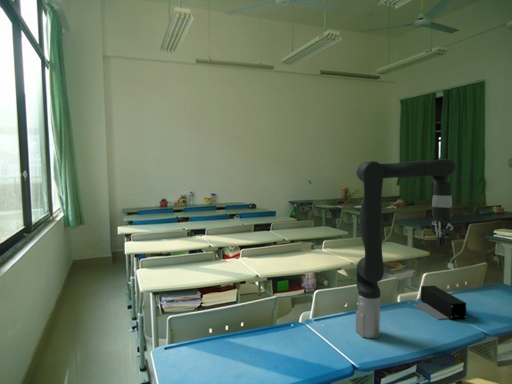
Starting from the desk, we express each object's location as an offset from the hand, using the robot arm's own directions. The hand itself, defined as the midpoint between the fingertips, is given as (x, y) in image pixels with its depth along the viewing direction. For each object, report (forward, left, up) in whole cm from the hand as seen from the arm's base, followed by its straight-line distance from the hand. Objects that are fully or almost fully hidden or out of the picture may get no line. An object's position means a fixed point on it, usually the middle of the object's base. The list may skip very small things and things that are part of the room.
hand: (440, 245), depth 149 cm
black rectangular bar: (+19, +9, -35) cm, 40 cm away
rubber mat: (+16, +21, -39) cm, 47 cm away
